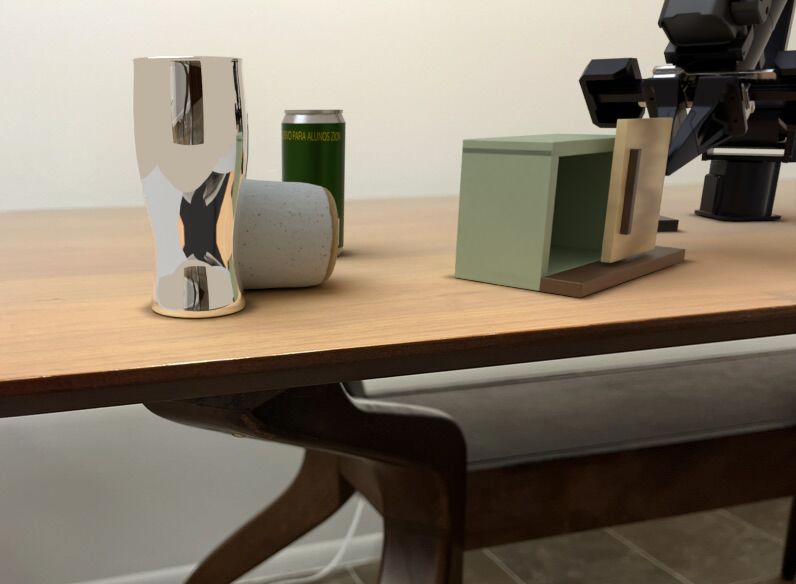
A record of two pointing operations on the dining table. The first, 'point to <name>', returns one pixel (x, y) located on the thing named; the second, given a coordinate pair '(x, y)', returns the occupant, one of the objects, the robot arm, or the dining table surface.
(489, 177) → the cabinet
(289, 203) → the ceramic mug
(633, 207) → the door
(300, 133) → the beer can
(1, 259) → the dining table surface
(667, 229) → the block
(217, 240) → the beer glass
